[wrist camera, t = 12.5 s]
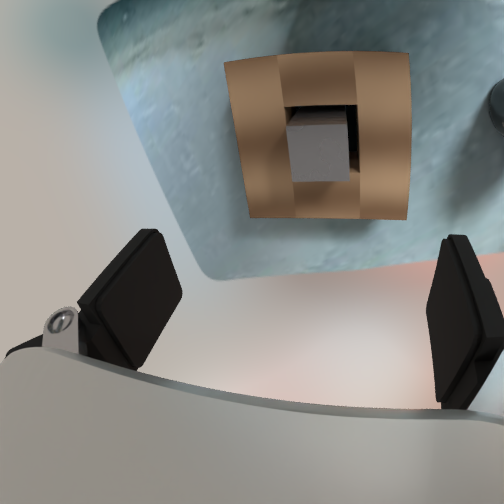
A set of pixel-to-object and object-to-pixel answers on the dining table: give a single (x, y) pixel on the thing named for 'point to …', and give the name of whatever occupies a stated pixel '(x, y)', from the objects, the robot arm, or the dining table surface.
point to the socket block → (324, 93)
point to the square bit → (319, 144)
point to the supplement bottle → (498, 106)
